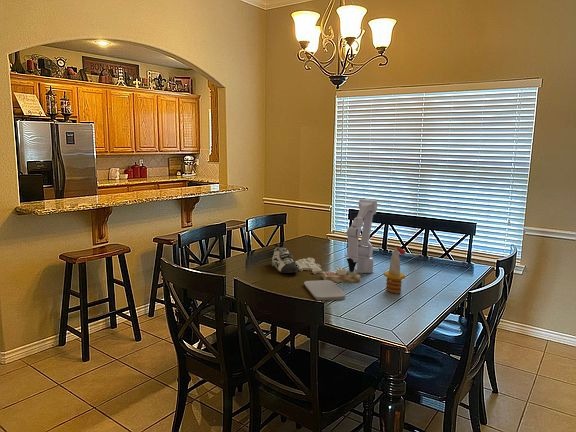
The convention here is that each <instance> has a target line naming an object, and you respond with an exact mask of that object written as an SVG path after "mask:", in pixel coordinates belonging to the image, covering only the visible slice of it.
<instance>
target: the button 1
mask: <svg viewBox="0 0 576 432" xmlns="http://www.w3.org/2000/svg"><path fill="white" fill-rule="evenodd" d="M346 271H347V275H356V272H357V271H356V270H354V272H350V271H349V270H346ZM355 271H356V272H355Z"/></svg>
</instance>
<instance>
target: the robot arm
mask: <svg viewBox="0 0 576 432" xmlns="http://www.w3.org/2000/svg"><path fill="white" fill-rule="evenodd" d="M358 208H359V209H358V213H357V216H355V217H354V219H352V220H353V221H352V222H351V225H350V226H349V227H348V228H347V230H346V236H347V237H346V238H347V254H346V255H345V256H344V257H345V258H346V261H347V264H348V271H350V272H354V271H356V272H357V273H358V274H373V273H374V271H373V270H374V257H372V256H373V252H374V249H373V247H374V246H373V244H372V243H371V242H370V236H371V230H372V225H373V223H372V222H373V218H374V215H376V214H377V209H378V201H377V200H376V199H367V198H360V199H359V201H358ZM361 232H362V233H361ZM360 236H361V238H360ZM359 238H360V240H359Z"/></svg>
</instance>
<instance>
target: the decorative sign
mask: <svg viewBox="0 0 576 432" xmlns="http://www.w3.org/2000/svg"><path fill="white" fill-rule="evenodd" d="M294 263H295V264H296V265H297V267H298V270H299V271H298V272H304V271H303V270H308V271H309V270H310V271H311V274H312V273H313V274H312V275H316V274H322V272H323V269H322V265H320V264H319V263H316V259H315V258H313V257H306V258H302V259H298V260H295V261H294ZM310 271H309V272H310Z"/></svg>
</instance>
